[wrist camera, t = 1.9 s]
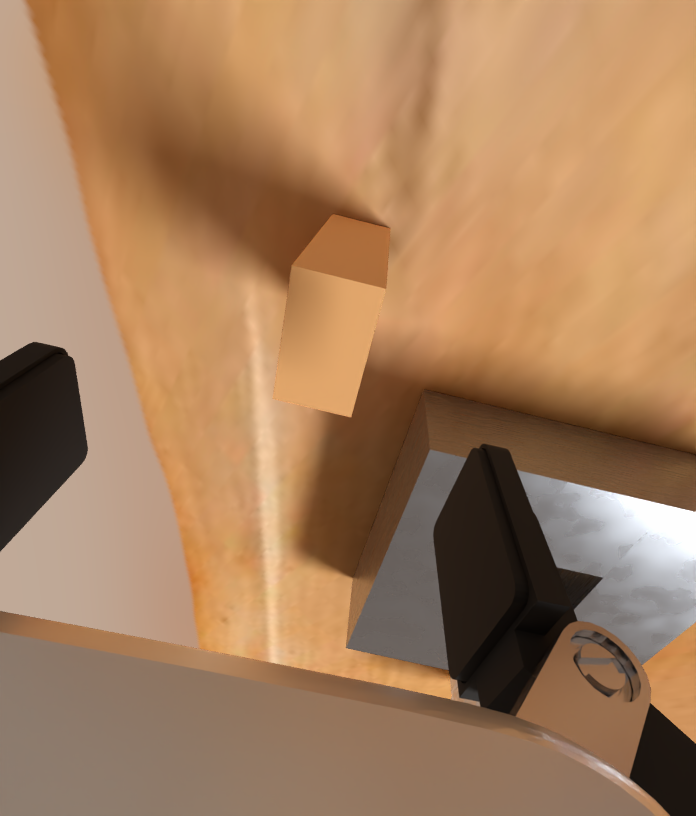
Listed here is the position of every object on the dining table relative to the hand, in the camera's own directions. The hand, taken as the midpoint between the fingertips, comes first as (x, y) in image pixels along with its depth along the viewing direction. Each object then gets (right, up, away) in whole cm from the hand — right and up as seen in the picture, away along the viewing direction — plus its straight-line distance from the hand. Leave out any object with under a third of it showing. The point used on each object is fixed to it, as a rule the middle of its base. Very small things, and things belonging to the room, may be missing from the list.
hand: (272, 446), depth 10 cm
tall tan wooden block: (+2, +8, +13) cm, 15 cm away
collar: (+14, -8, +22) cm, 27 cm away
